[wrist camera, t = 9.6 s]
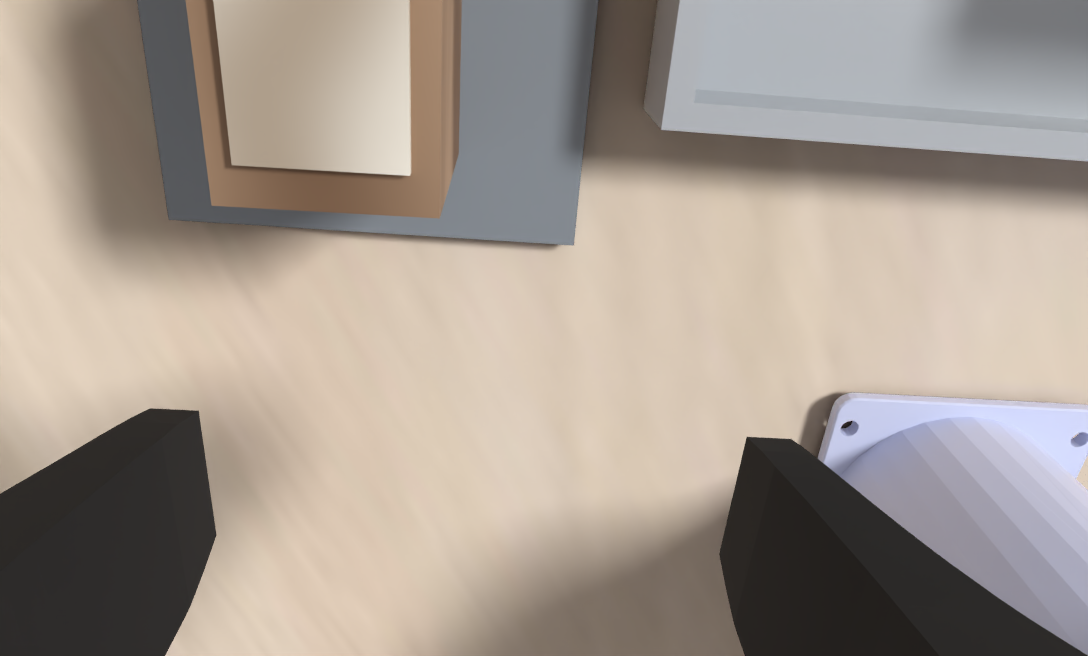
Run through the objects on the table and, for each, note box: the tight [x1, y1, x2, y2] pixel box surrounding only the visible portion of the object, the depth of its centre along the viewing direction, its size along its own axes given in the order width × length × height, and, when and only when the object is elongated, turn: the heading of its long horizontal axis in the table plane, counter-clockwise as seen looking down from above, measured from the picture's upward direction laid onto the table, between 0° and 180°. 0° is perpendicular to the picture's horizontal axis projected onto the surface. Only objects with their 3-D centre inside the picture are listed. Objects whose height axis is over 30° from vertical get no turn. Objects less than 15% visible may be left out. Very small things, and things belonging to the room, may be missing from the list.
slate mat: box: [137, 0, 598, 245], centre depth 17 cm, size 10×10×1 cm
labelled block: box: [186, 0, 462, 219], centre depth 14 cm, size 4×6×5 cm, turn 176°
